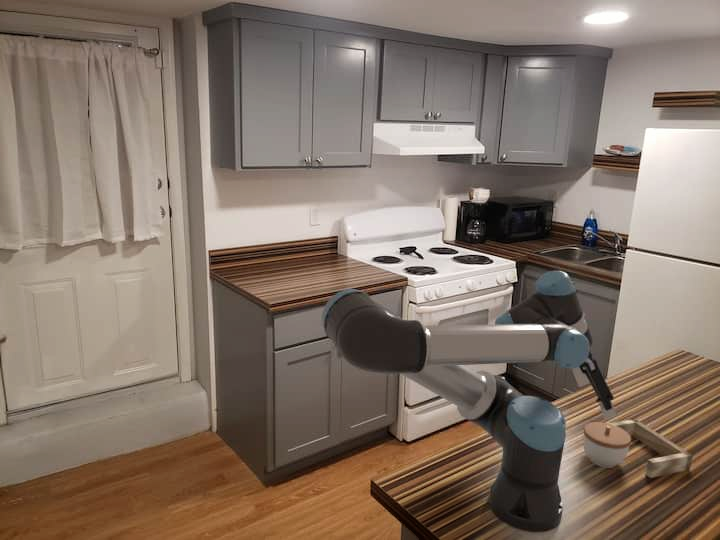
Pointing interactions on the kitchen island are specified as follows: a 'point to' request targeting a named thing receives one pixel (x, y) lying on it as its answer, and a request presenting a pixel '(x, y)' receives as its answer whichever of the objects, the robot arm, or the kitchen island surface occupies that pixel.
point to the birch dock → (658, 449)
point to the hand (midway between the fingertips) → (596, 400)
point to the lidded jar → (605, 444)
